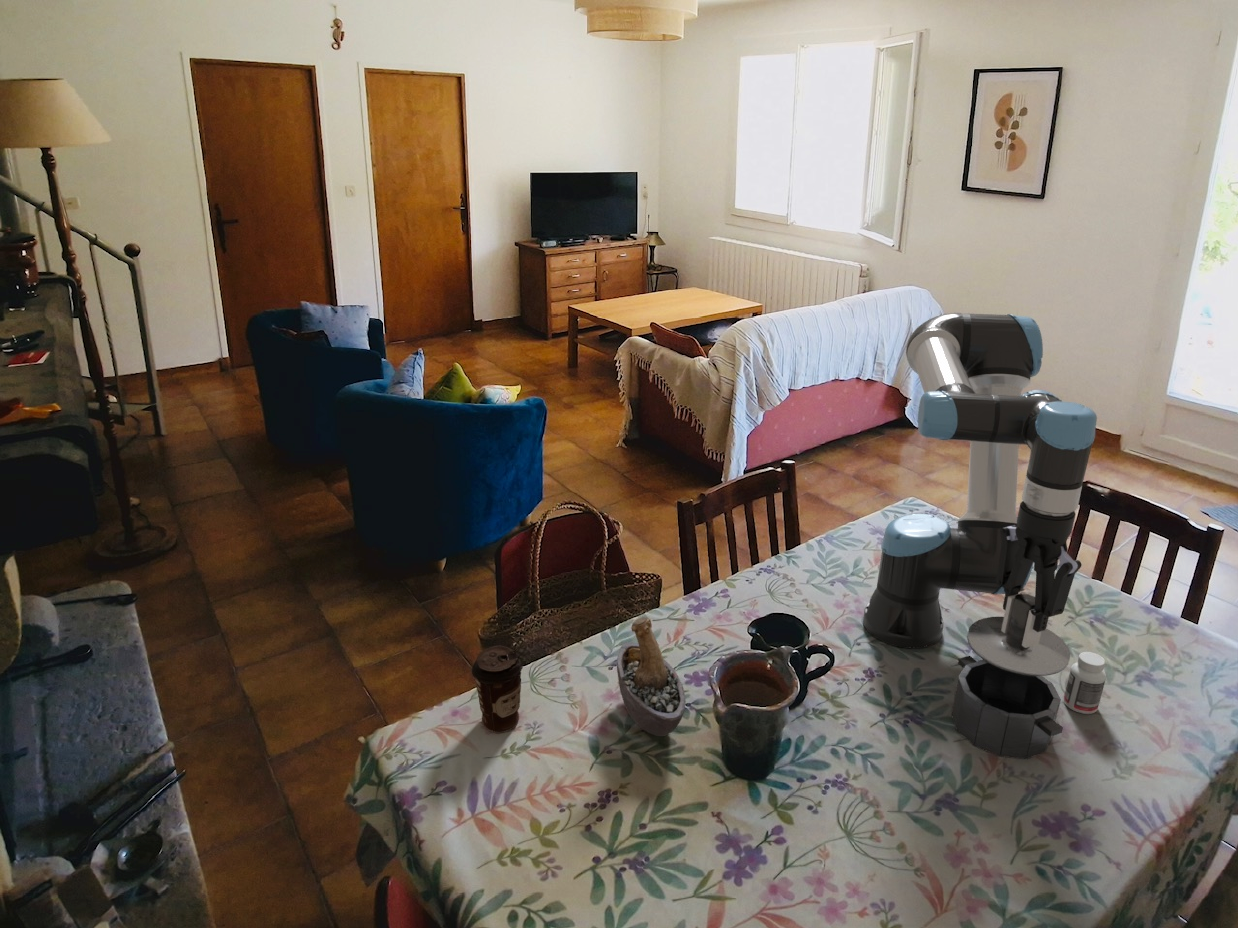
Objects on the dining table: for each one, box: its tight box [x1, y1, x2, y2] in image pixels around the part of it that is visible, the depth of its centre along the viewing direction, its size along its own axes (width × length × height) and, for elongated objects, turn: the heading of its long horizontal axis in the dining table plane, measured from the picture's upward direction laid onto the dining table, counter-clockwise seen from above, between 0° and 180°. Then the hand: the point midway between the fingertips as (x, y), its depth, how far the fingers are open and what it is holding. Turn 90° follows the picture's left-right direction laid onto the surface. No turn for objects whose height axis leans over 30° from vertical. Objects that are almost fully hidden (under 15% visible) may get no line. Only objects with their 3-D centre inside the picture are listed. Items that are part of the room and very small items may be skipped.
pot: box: [951, 655, 1064, 760], centre depth 140 cm, size 20×15×8 cm
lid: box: [966, 593, 1071, 677], centre depth 134 cm, size 15×15×10 cm
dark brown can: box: [471, 644, 524, 734], centre depth 141 cm, size 9×8×13 cm
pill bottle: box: [1063, 651, 1107, 715], centre depth 145 cm, size 5×5×10 cm
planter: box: [616, 616, 687, 737], centre depth 140 cm, size 15×17×20 cm
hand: (1019, 637), depth 135 cm, fingers closed on lid, 4 cm apart
